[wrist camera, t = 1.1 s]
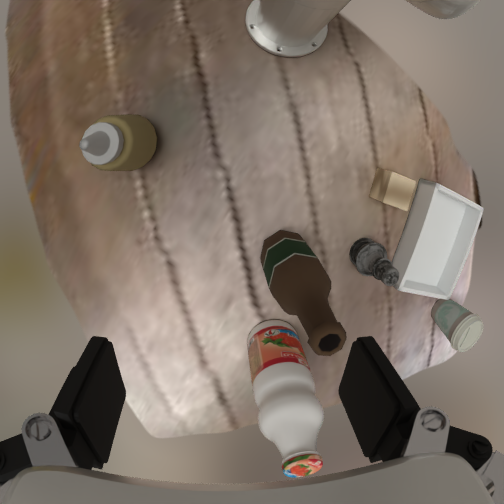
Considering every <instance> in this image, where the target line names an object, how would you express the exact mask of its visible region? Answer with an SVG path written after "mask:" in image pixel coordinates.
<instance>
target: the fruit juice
mask: <svg viewBox="0 0 504 504" xmlns="http://www.w3.org/2000/svg"><path fill="white" fill-rule="evenodd" d="M247 347H248V355H249V363H250V371H251V379H252V387H253V394H254V398H255V402H256V404H257V406H258V407H259V413H258V424H259V427H260V430H261V432H262V433H263V435H264V436H265V437H266V438H267V439H269V440H270V441H272V442H274V443H275V445H276V446H277V448H278V449H279V451H280V453H281V455H282V457H283V462H282V469H283V472H284V474H285V475H286V476H288V477H304V476H307V475H311V474H313V473H315V472H317V471H318V470H320V469H321V467H322V465H323V462H322V457H321V455H320V454H319V453H318V452H317V449H316V444H317V436H318V432H319V430H320V427H321V425H322V423H323V419H324V413H323V408H322V405H321V403H320V401H319V400H318V398H317V397H316V396H315V383H314V379H313V376H312V373H311V371H310V368H309V365H308V363H307V360H306V357H305V354H304V352H303V349H302V346H301V343H300V341H299V338H298V335H297V333H296V331H295V329H294V328H293V327H292V326H291V325H290V324H288V323H287V322H284V321H281V320H268V321H265V322H262V323H260V324H258V325H257V326H256V327H254V328H253V330H252V331H251V332H250V334H249V337H248V341H247Z"/></svg>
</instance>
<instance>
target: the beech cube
mask: <svg viewBox="0 0 504 504" xmlns="http://www.w3.org/2000/svg"><path fill="white" fill-rule="evenodd" d="M415 184H416V181H413V180H411V179H409V178H407V177H404V176H402V175H400V174H397V173H395V172H393V171H389V170H384V169H380V168H377V171H376V174H375V178H374V181H373V184H372V188H371V191H370V194H369V197H372V198H374V199H376V200H378V201H381V202H383V203H386V204H389V205H391V206H394V207H397V208H400V209H402V210H405V211H407V210H408V207H409V204H410V201H411V198H412V195H413V191H414V188H415Z"/></svg>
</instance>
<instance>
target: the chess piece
mask: <svg viewBox="0 0 504 504" xmlns="http://www.w3.org/2000/svg"><path fill="white" fill-rule="evenodd" d="M350 259H351V261H352V263H353V264H355V265H356V267H357V270H358V271H359V272H360V273H361V274H362V275H364V276H374V277H375V278H376V279H378V280H381V281H382V282H383V283H384V284H385V285H387V286H392V285H395V284H396V283H397V282H398V280H399V272H398V270H397V269H396V268H394V267H393V266H392V263H391V261H390V260H389V259H387V252H386V249H385V248H384V247H383V246H382V245H381V244H379V243H374V241H372V240H371V239H369V238H361V239H359V240H357V241H356V242H355V243H354V244H353V245H352V247H351V250H350Z"/></svg>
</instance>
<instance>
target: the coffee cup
mask: <svg viewBox="0 0 504 504" xmlns="http://www.w3.org/2000/svg"><path fill="white" fill-rule="evenodd" d="M431 316H432V318H433V319H434V321H435V322H436V323H437V325H438V326H439V327H440V329H441V330H442V332H443V333H444V334H445V336H446V337H447V339H448V340H449V341H450V343H451V347H452V348H453V349H455V350H458V351H460V352H464V351H467V350H469V349H470V348H471V347H472V346H474V345H475V343H476V342H477V341H478V340H479V338H480V336H481V334H482V331H483V323H482V321H481V318H480V317H479V316H478V315H477V314H473V313H471V312H470V311H469V310H467V309H465V308H464V307H462V306H461V305H459V304H457V303H456V302H454V301H452V300H451V299H449V300H445V299H439V300H438V301H437V302H436V303H435V305H434V306H433V308H432V312H431Z"/></svg>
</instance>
